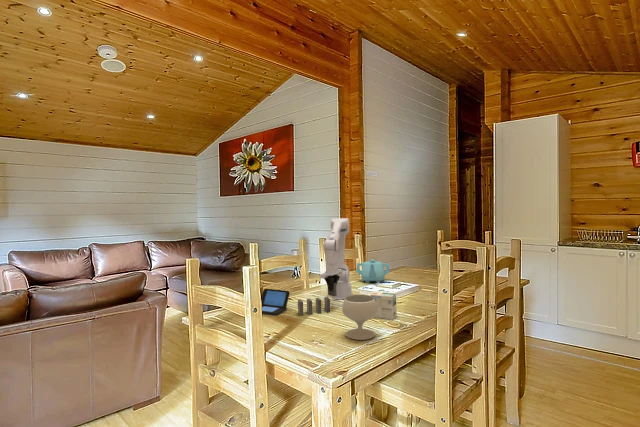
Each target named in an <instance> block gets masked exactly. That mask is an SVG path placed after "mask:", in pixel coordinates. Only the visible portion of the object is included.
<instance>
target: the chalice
mask: <svg viewBox="0 0 640 427" xmlns="http://www.w3.org/2000/svg"><path fill="white" fill-rule="evenodd" d="M341 307H342V313H343V315H344V317H346V318H347V319H349V320H351V321H354V322H355V324H356V325H357V328H352V329H349V330H346V332H345V337H347V338H348V339H350V340H356V341H363V340H364V341H365V340H370V339H373V338H375V337H376V333H375V331H374V330H371V329H368V328H363V325H364V324H365V322H368V321H369V320H371V319H372V318H375V317H374V316H375V315H376V313H377V304H376V301H375V299H374V298H373V297H372V296H371V295H369V294H352V295H350V296H347V297H346V298H345V299H343V302H342V306H341Z"/></svg>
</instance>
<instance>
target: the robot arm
mask: <svg viewBox="0 0 640 427" xmlns="http://www.w3.org/2000/svg"><path fill="white" fill-rule="evenodd" d="M330 228H331V231H330V232H329V233H328V235H327V239H325V240H324V241H323V249H324V255H325V271H324V272H323V273H320V274H319V276H320V279H323V280H324V281H325V282H326V286H327V290H328V289H329V291H333V282H334V283H336V293H337V296H331V297H332V298H333V299H334V300H336V301H337V300H344V299H345V298H346V297H347V296H350V295H353V294H352V292H353V291H352V283H351V281H350V267H349V266H348V265H346V264H345V257H346V256H345V252H346V250H345V249H346V237H347V235H349V233H350V219H349V217H346V218H345V217H342V218H341V217H340V218H339V217H336V218H335V217H332V218H331V219H330Z"/></svg>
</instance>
